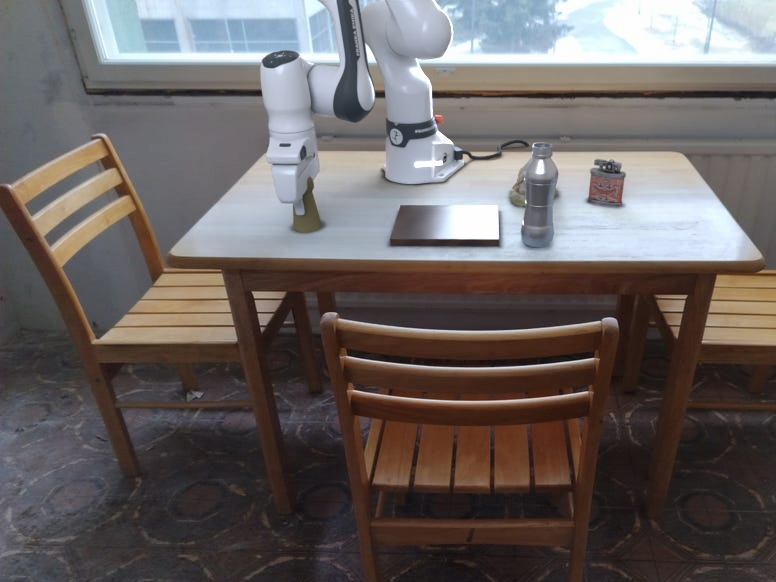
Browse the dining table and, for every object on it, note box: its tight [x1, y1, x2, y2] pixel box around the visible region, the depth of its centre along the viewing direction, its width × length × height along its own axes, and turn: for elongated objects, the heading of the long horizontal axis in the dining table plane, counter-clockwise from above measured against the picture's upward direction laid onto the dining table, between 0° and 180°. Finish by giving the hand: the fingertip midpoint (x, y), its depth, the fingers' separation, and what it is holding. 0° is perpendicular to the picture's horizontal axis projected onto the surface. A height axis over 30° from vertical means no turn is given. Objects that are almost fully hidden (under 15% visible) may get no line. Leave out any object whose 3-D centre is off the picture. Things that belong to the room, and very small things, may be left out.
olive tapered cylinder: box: [292, 177, 323, 233], centre depth 137 cm, size 6×6×11 cm
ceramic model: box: [510, 155, 559, 207], centre depth 151 cm, size 14×11×10 cm
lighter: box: [587, 158, 627, 208], centre depth 148 cm, size 8×3×10 cm, turn 65°
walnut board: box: [389, 204, 500, 248], centre depth 139 cm, size 22×18×2 cm
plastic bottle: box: [520, 141, 559, 248], centre depth 127 cm, size 6×7×20 cm
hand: (304, 208), depth 137 cm, fingers closed on olive tapered cylinder, 5 cm apart
